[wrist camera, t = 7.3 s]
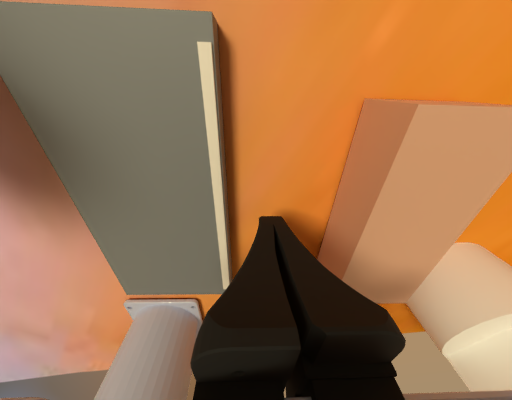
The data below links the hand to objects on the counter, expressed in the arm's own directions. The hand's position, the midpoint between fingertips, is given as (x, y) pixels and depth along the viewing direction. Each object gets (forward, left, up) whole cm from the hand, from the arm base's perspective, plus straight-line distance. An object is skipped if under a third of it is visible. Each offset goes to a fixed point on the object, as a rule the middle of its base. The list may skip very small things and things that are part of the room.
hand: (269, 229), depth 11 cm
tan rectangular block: (0, -8, -3) cm, 9 cm away
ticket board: (0, +8, -3) cm, 9 cm away
